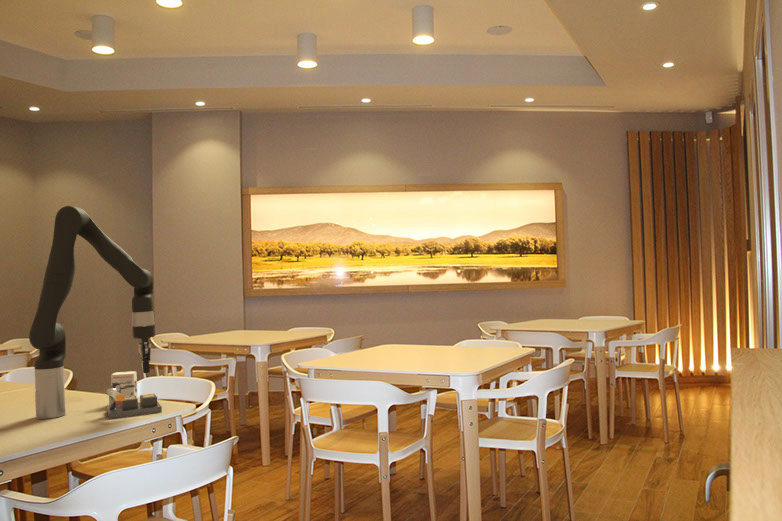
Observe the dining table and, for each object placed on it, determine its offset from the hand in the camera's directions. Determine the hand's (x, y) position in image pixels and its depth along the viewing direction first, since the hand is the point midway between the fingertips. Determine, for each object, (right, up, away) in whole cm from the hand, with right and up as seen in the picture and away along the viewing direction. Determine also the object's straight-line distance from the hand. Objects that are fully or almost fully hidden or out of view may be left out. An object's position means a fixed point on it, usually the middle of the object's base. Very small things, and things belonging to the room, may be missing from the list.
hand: (146, 372), depth 240 cm
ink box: (-14, -15, +15) cm, 25 cm away
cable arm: (-7, -7, -11) cm, 14 cm away
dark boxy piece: (-4, -14, -2) cm, 14 cm away
